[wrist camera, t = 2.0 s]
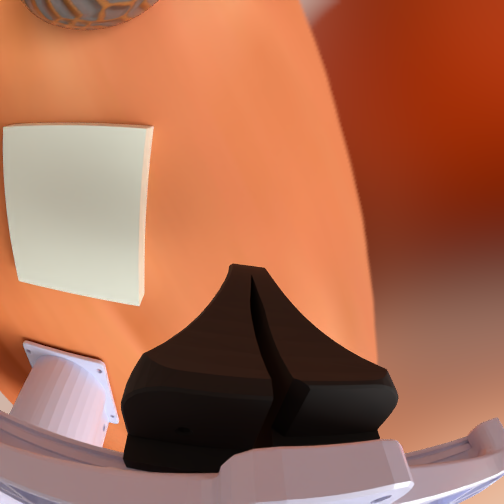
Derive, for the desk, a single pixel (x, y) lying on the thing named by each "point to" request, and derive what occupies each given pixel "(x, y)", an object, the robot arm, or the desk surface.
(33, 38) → the desk surface
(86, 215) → the panel
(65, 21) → the vase
